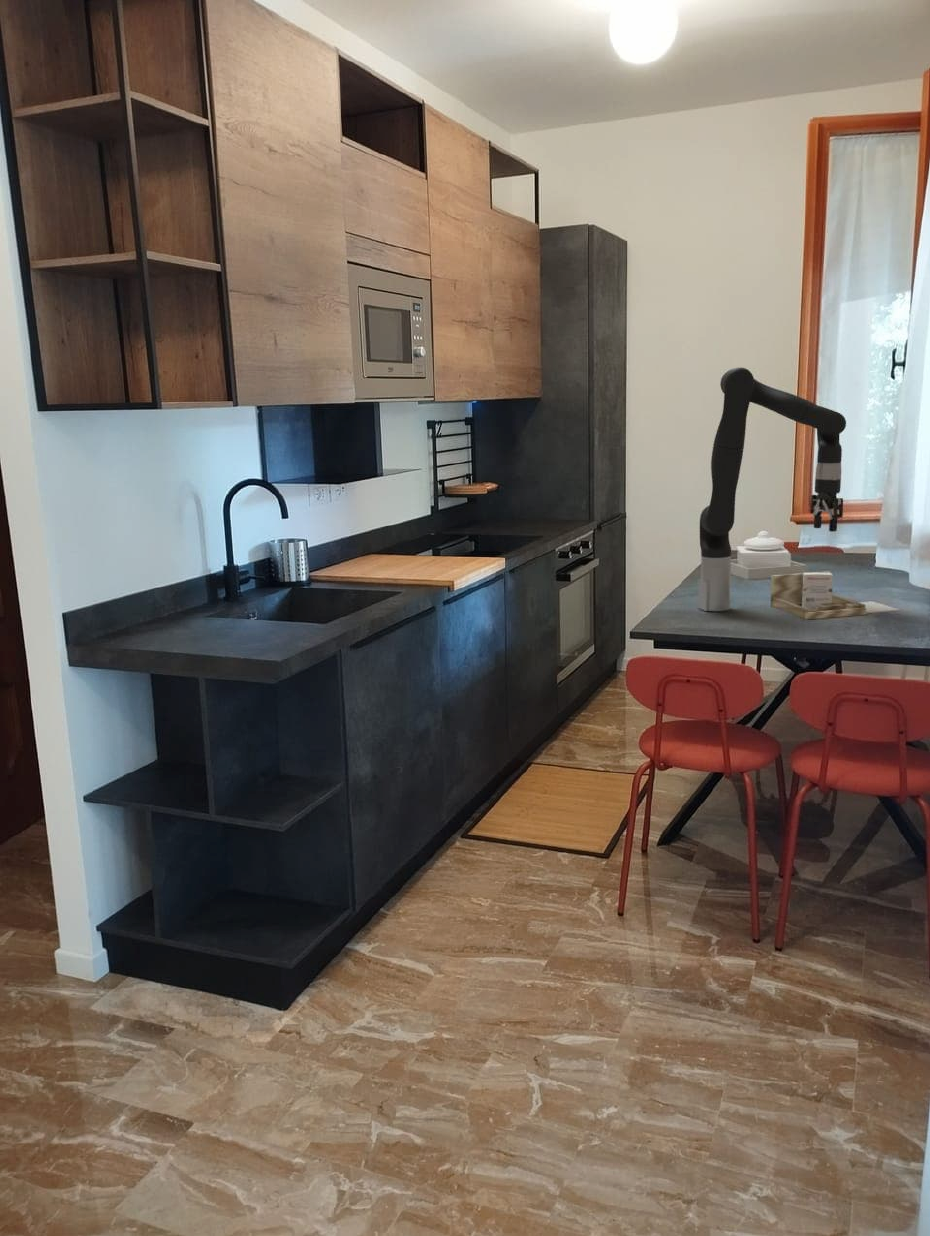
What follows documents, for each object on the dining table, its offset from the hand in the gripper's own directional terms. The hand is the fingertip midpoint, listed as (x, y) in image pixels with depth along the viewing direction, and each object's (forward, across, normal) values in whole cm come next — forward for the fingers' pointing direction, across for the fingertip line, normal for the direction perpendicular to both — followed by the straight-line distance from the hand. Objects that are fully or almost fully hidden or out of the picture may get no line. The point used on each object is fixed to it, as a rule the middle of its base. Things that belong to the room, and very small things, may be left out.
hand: (824, 529), depth 314 cm
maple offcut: (+25, +12, +3) cm, 28 cm away
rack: (+25, +4, -4) cm, 25 cm away
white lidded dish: (+25, -64, +15) cm, 70 cm away
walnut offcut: (+23, +12, -4) cm, 27 cm away
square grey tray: (+25, -64, +15) cm, 70 cm away
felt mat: (+24, +7, +12) cm, 28 cm away
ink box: (+25, +4, -4) cm, 26 cm away
